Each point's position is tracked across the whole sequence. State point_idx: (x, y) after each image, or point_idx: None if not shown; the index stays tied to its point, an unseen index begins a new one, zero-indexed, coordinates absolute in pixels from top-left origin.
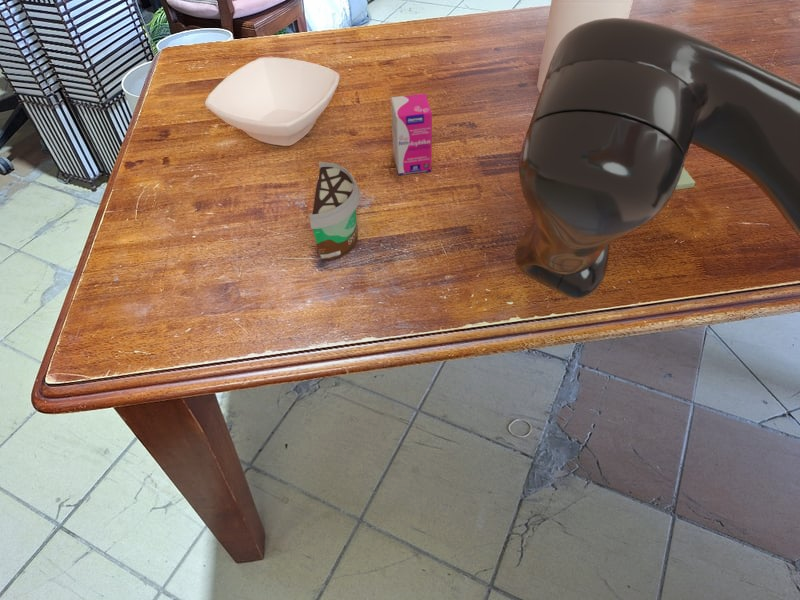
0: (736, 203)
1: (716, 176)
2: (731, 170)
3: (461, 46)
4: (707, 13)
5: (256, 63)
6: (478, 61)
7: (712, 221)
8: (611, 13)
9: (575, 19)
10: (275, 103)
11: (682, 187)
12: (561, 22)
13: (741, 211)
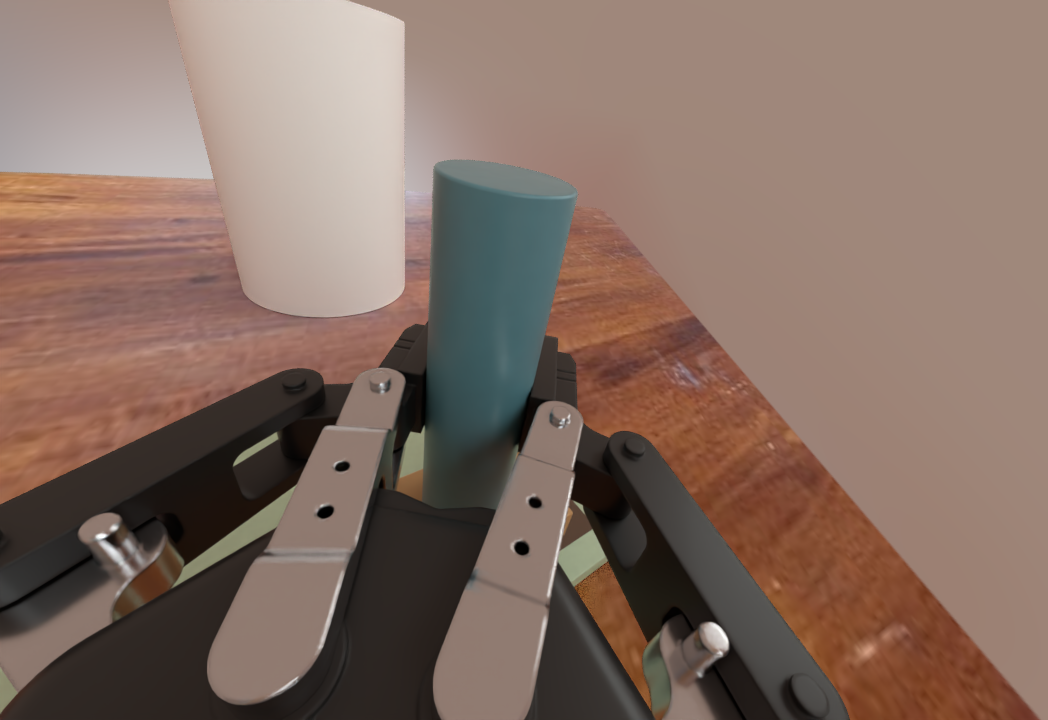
0: (780, 555)
1: (681, 464)
2: (695, 438)
3: (88, 211)
4: None
5: None
6: (111, 235)
7: None
8: (341, 73)
9: (237, 77)
10: None
11: None
12: (206, 92)
13: (814, 589)
